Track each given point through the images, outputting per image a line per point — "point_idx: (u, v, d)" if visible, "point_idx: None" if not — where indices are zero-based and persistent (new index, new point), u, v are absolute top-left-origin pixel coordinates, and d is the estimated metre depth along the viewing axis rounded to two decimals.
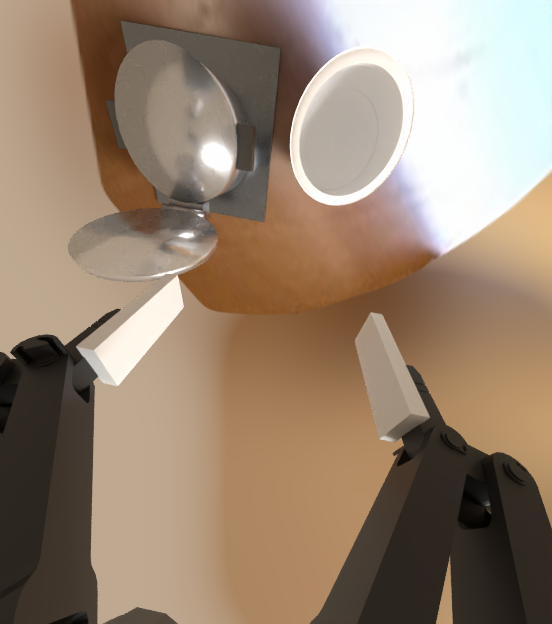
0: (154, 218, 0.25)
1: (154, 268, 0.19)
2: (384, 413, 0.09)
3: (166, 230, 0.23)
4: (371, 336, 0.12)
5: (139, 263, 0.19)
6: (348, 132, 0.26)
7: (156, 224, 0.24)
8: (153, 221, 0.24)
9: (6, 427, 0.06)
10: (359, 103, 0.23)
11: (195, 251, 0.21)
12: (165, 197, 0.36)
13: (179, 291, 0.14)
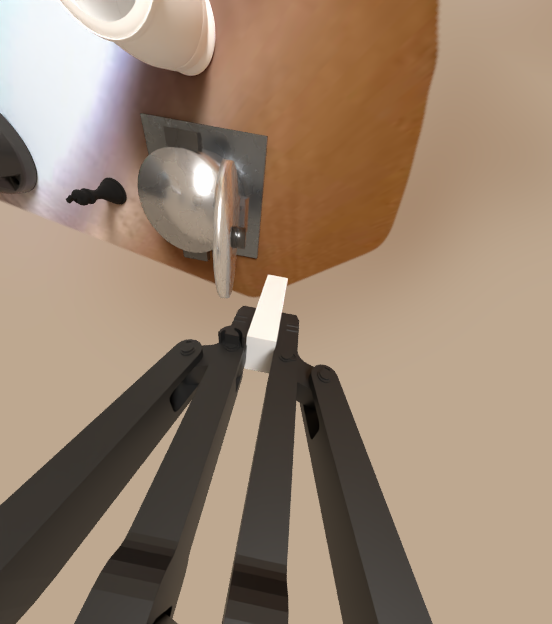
0: None
1: None
2: None
3: None
4: None
5: None
6: None
7: None
8: None
9: (196, 391, 0.07)
10: None
11: None
12: (252, 250, 0.42)
13: None
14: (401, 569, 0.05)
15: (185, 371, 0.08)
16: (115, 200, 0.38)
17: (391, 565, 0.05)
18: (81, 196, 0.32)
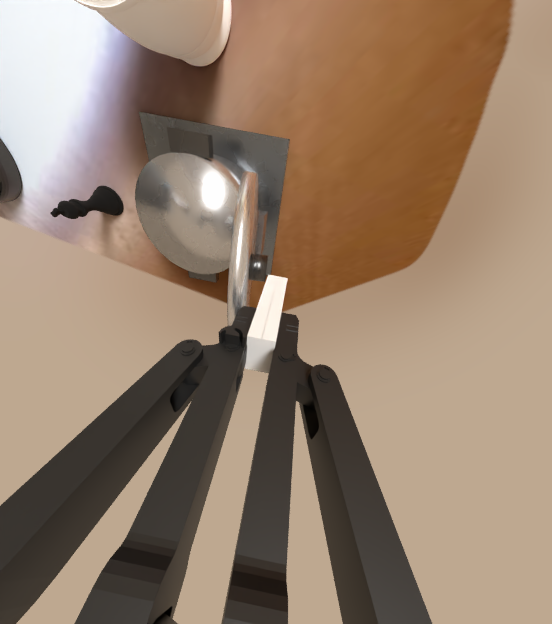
0: None
1: None
2: None
3: None
4: None
5: None
6: None
7: None
8: None
9: (197, 391, 0.07)
10: None
11: None
12: None
13: None
14: (401, 569, 0.05)
15: (185, 371, 0.08)
16: (110, 211, 0.33)
17: (391, 565, 0.05)
18: (69, 209, 0.27)
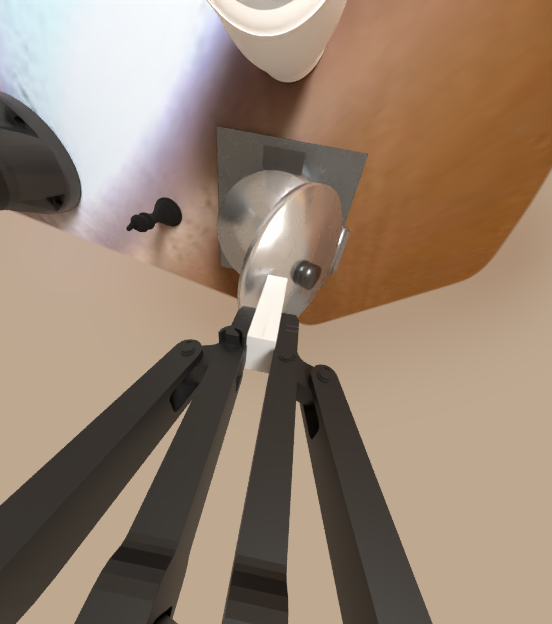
0: None
1: None
2: None
3: None
4: None
5: None
6: None
7: None
8: None
9: (197, 391, 0.07)
10: None
11: None
12: None
13: None
14: (401, 569, 0.05)
15: (185, 371, 0.08)
16: (170, 222, 0.33)
17: (391, 565, 0.05)
18: (142, 222, 0.27)
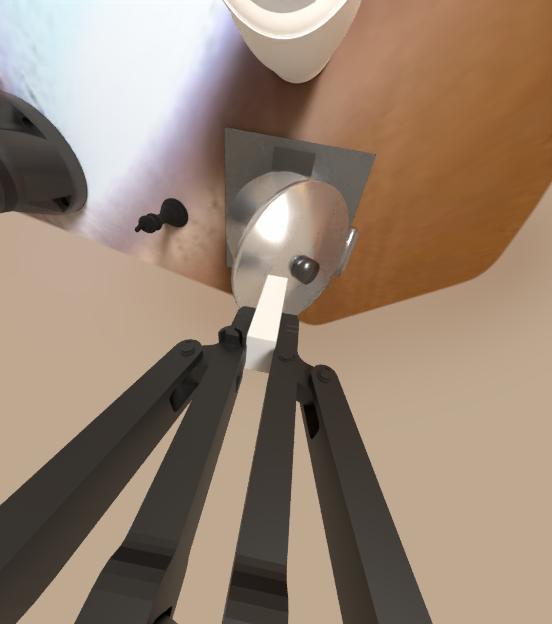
0: None
1: None
2: None
3: None
4: None
5: None
6: None
7: None
8: None
9: (197, 391, 0.07)
10: None
11: None
12: None
13: None
14: (401, 569, 0.05)
15: (185, 371, 0.08)
16: (177, 223, 0.33)
17: (391, 565, 0.05)
18: (150, 223, 0.27)
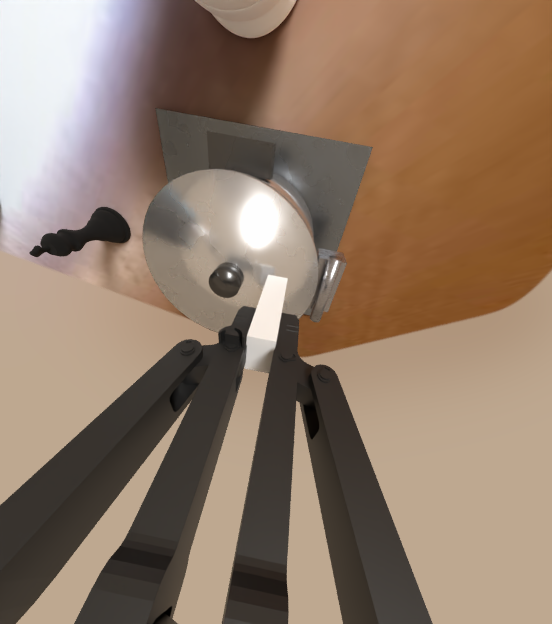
0: None
1: None
2: None
3: None
4: None
5: None
6: None
7: None
8: None
9: (197, 391, 0.07)
10: None
11: None
12: None
13: None
14: (401, 569, 0.05)
15: (185, 371, 0.08)
16: (114, 239, 0.26)
17: (391, 565, 0.05)
18: (57, 244, 0.20)
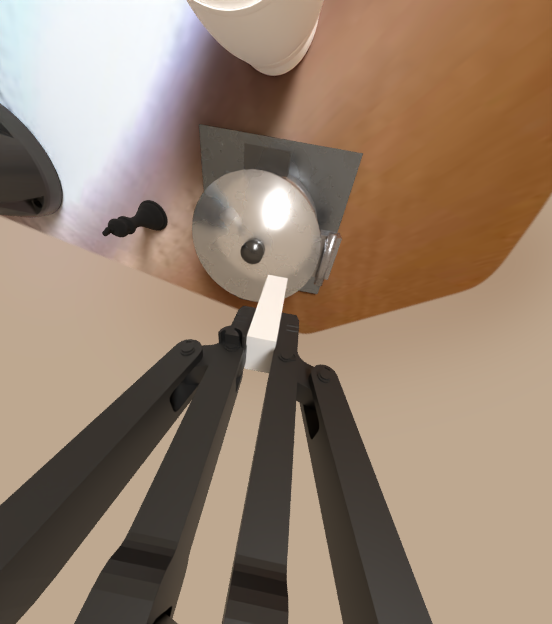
0: None
1: None
2: None
3: None
4: None
5: None
6: None
7: None
8: None
9: (197, 391, 0.07)
10: None
11: None
12: (313, 285, 0.35)
13: None
14: (401, 569, 0.05)
15: (185, 371, 0.08)
16: (155, 227, 0.31)
17: (391, 565, 0.05)
18: (120, 227, 0.26)
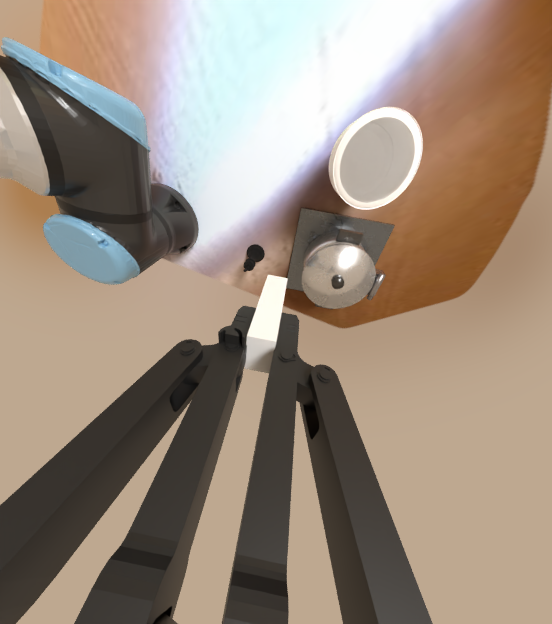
0: None
1: None
2: None
3: None
4: None
5: None
6: (351, 150, 0.34)
7: None
8: None
9: (197, 391, 0.07)
10: None
11: None
12: None
13: None
14: (401, 569, 0.05)
15: (185, 371, 0.08)
16: (257, 260, 0.50)
17: (391, 565, 0.05)
18: (252, 266, 0.44)
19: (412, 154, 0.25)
